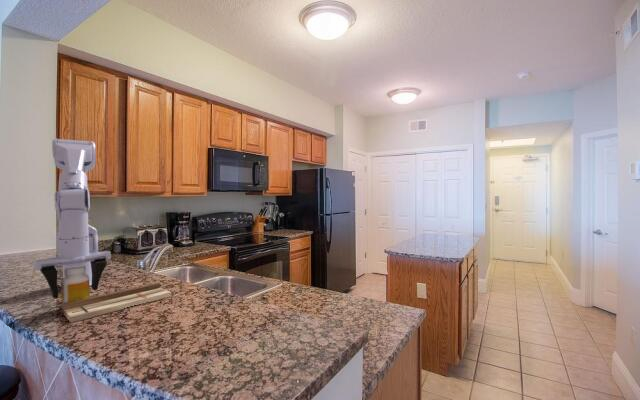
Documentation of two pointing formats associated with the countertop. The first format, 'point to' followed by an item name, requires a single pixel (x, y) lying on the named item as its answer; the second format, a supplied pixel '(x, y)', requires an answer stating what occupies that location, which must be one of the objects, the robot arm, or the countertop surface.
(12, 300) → the countertop surface
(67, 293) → the supplement bottle
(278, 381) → the countertop surface
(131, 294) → the board
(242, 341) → the countertop surface
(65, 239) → the robot arm
